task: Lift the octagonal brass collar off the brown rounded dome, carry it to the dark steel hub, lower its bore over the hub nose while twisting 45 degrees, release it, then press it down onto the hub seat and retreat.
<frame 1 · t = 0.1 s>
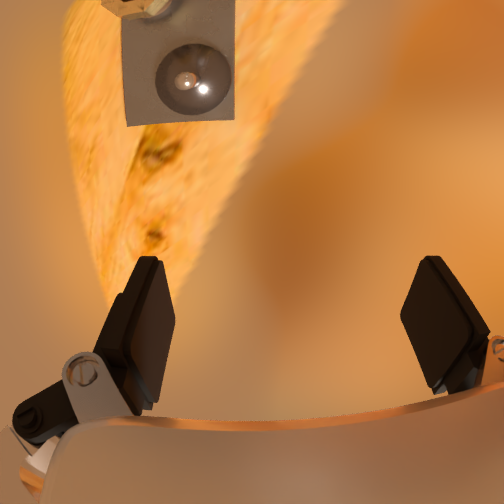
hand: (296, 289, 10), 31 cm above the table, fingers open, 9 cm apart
hub: (196, 78, 33), resting on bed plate
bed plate: (177, 36, 29), on the table
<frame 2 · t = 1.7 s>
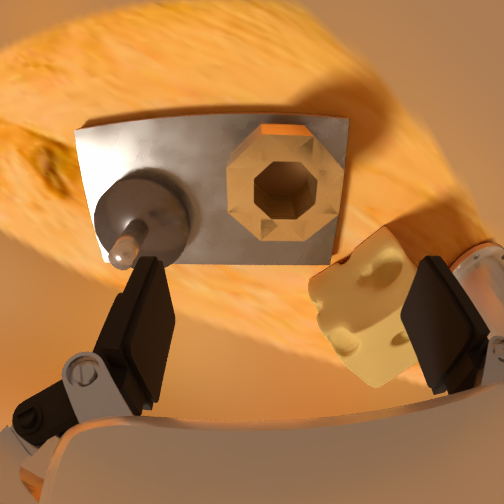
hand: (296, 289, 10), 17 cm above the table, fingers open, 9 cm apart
collar: (281, 172, 21), point 4 cm above the table, touching brown rounded dome
cheese: (370, 276, 32), on the table
hub: (147, 215, 28), resting on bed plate
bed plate: (207, 191, 26), on the table
brown rounded dome: (277, 156, 24), resting on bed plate
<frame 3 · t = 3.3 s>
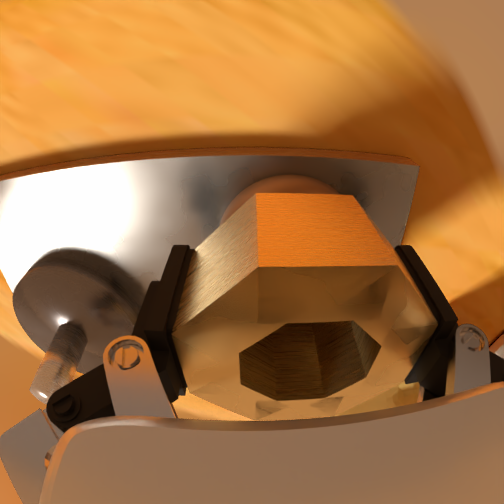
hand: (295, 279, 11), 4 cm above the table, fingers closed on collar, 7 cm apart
collar: (296, 285, 11), point 4 cm above the table, touching gripper, brown rounded dome
cheese: (403, 364, 22), on the table
hub: (88, 304, 17), resting on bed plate
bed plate: (169, 279, 16), on the table
brown rounded dome: (285, 226, 14), resting on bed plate
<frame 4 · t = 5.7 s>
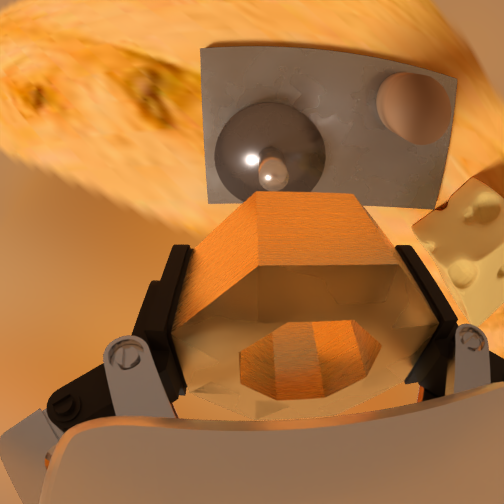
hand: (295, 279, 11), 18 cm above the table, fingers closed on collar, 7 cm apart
collar: (296, 284, 11), point 18 cm above the table, touching gripper
cheese: (457, 226, 30), on the table
hub: (269, 149, 26), resting on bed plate
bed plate: (337, 128, 25), on the table
brown rounded dome: (400, 102, 23), resting on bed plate
when the fingers open (4 cm above the table, at t = 8.1 s): collar drops 1 cm, resting on hub.
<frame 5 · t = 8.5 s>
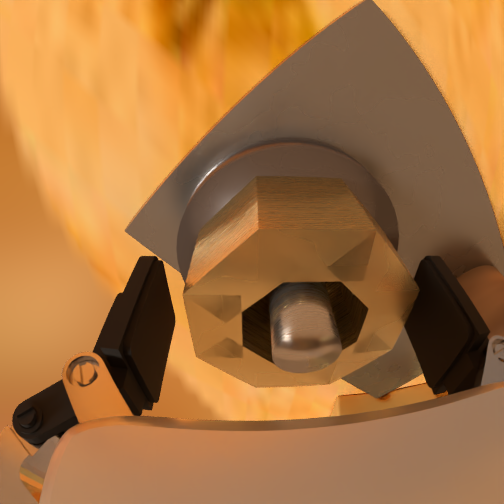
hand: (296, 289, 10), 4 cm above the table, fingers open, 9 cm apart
collar: (292, 261, 12), point 3 cm above the table, touching hub
cheese: (372, 410, 27), on the table
hub: (285, 226, 14), resting on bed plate
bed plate: (386, 269, 16), on the table
brown rounded dome: (459, 290, 17), resting on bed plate
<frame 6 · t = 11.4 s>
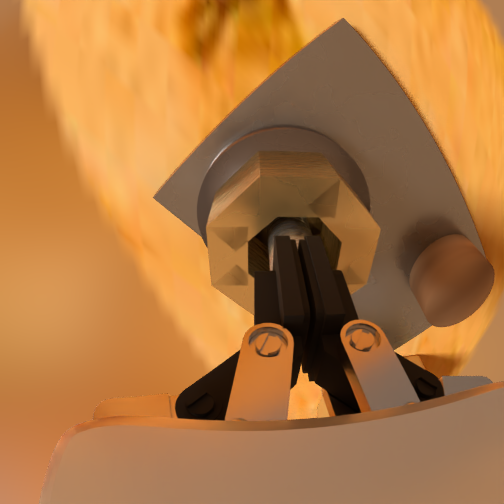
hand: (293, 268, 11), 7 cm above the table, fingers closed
collar: (286, 218, 15), point 3 cm above the table, touching hub
hub: (281, 196, 18), resting on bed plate
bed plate: (367, 236, 19), on the table
brown rounded dome: (436, 259, 20), resting on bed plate
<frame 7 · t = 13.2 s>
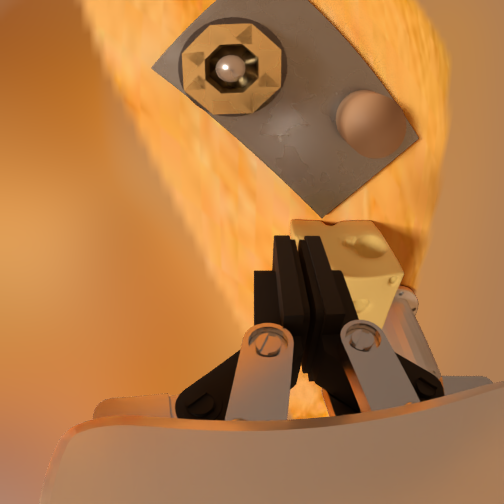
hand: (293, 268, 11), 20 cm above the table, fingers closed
collar: (232, 67, 21), point 3 cm above the table, touching hub
cheese: (328, 252, 37), on the table
hub: (233, 65, 24), resting on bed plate
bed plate: (297, 92, 25), on the table
brown rounded dome: (360, 116, 27), resting on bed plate
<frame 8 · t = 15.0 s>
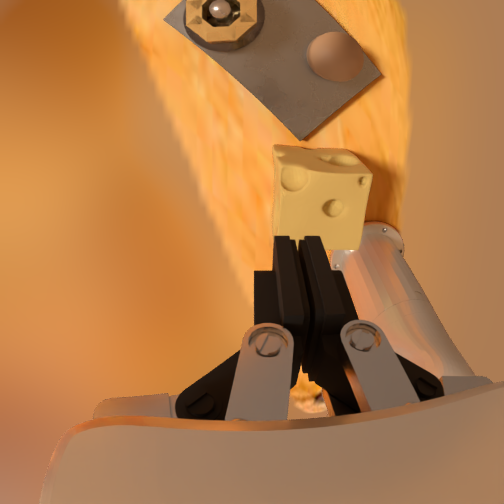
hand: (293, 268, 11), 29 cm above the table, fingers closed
collar: (223, 15, 25), point 3 cm above the table, touching hub
cheese: (310, 180, 40), on the table
hub: (225, 19, 28), resting on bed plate
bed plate: (275, 38, 29), on the table
brown rounded dome: (329, 57, 30), resting on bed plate
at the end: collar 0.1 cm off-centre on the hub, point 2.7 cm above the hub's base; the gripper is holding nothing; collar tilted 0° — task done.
